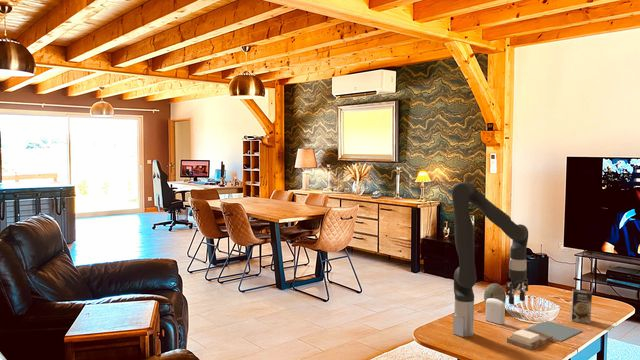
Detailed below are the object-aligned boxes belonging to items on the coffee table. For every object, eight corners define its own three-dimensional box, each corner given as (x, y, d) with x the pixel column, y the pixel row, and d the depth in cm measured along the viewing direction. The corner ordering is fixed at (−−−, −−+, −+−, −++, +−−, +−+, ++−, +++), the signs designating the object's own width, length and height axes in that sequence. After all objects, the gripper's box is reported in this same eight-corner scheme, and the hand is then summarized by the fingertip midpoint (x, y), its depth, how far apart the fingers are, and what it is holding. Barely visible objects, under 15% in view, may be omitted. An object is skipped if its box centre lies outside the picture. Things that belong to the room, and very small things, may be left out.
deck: (530, 350, 238) (530, 346, 238) (506, 342, 247) (507, 338, 247) (552, 340, 250) (552, 335, 250) (529, 332, 260) (529, 328, 259)
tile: (530, 344, 240) (530, 338, 240) (512, 338, 247) (512, 332, 247) (539, 339, 245) (539, 334, 245) (521, 334, 252) (521, 329, 252)
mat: (560, 341, 248) (560, 340, 248) (523, 330, 263) (523, 329, 263) (582, 331, 262) (582, 330, 262) (546, 321, 277) (546, 320, 276)
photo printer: (483, 320, 277) (484, 297, 276) (488, 318, 280) (489, 296, 279) (501, 325, 269) (502, 302, 268) (505, 323, 272) (506, 300, 271)
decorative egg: (502, 314, 287) (503, 287, 286) (481, 310, 293) (481, 284, 292) (507, 308, 297) (508, 282, 296) (486, 304, 303) (487, 279, 302)
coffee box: (571, 321, 276) (572, 291, 275) (570, 317, 282) (571, 288, 281) (590, 323, 273) (592, 293, 271) (589, 320, 278) (590, 290, 277)
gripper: (516, 272, 233) (515, 307, 234) (533, 267, 241) (532, 301, 242) (501, 268, 239) (500, 303, 240) (519, 264, 247) (518, 297, 248)
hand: (516, 302), depth 241 cm, fingers open, 8 cm apart
